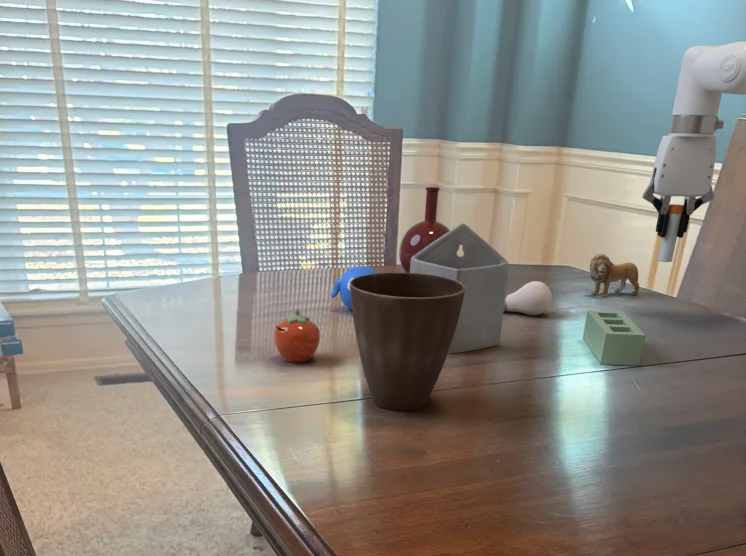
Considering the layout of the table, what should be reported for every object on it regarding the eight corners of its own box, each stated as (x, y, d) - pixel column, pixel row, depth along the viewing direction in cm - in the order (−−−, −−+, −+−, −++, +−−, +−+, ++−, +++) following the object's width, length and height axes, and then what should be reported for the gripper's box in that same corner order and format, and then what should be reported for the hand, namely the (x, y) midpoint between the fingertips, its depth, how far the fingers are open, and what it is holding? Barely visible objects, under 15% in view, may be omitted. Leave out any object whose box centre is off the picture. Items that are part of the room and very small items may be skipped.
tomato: (268, 355, 126) (267, 305, 122) (311, 351, 128) (311, 302, 124) (281, 368, 120) (280, 316, 116) (326, 363, 122) (327, 312, 118)
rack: (582, 338, 138) (587, 310, 136) (617, 339, 138) (623, 311, 136) (600, 364, 125) (606, 333, 122) (639, 365, 124) (645, 335, 122)
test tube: (670, 259, 150) (681, 204, 145) (674, 262, 148) (686, 205, 143) (655, 259, 150) (666, 204, 146) (659, 262, 148) (670, 205, 143)
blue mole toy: (330, 320, 146) (331, 274, 142) (329, 305, 157) (330, 262, 152) (393, 320, 147) (396, 275, 143) (388, 306, 157) (390, 263, 153)
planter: (401, 350, 129) (408, 227, 120) (405, 338, 136) (413, 220, 126) (499, 357, 127) (514, 232, 117) (499, 344, 134) (513, 225, 124)
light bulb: (490, 288, 151) (547, 277, 147) (496, 289, 157) (551, 278, 153) (494, 323, 153) (551, 312, 148) (500, 322, 158) (555, 312, 154)
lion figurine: (595, 300, 166) (603, 256, 162) (578, 295, 170) (585, 252, 166) (645, 294, 172) (654, 252, 167) (627, 289, 176) (636, 248, 172)
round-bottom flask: (391, 276, 184) (396, 185, 174) (444, 275, 186) (452, 185, 176) (405, 288, 173) (411, 191, 163) (461, 287, 175) (470, 191, 165)
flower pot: (476, 404, 107) (489, 285, 99) (404, 430, 98) (413, 302, 90) (396, 378, 116) (402, 268, 108) (324, 400, 107) (325, 281, 99)
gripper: (731, 127, 141) (707, 234, 150) (640, 126, 142) (622, 233, 151) (746, 128, 134) (720, 240, 143) (651, 127, 135) (631, 238, 144)
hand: (670, 235), depth 147 cm, fingers closed on test tube, 2 cm apart
